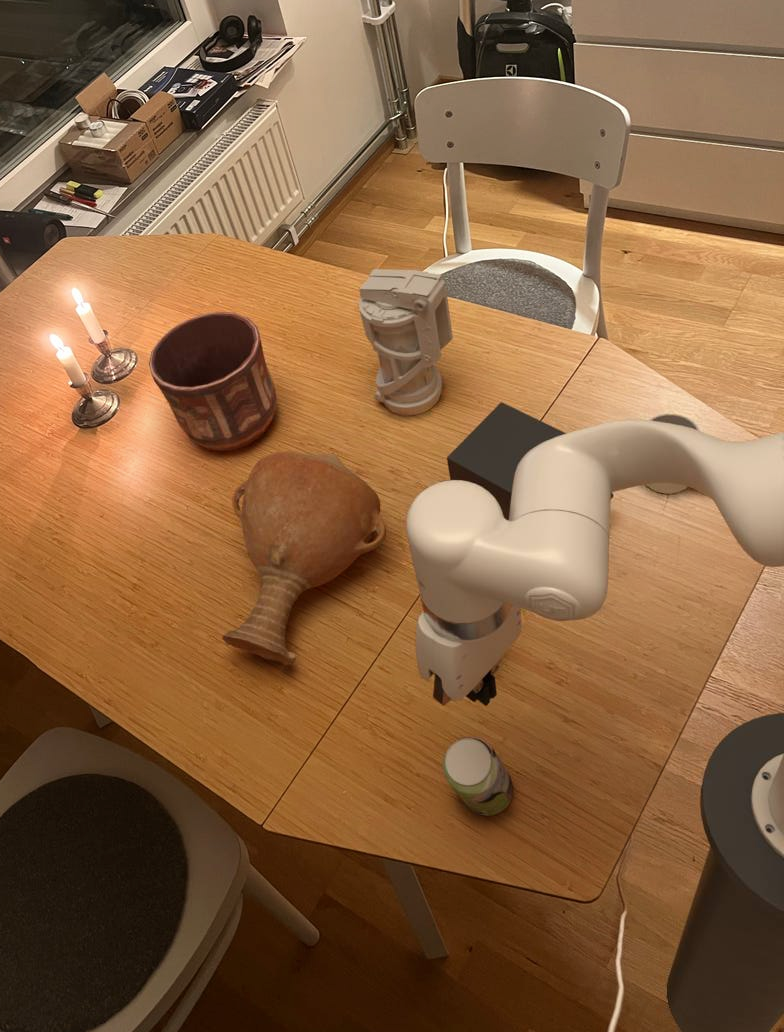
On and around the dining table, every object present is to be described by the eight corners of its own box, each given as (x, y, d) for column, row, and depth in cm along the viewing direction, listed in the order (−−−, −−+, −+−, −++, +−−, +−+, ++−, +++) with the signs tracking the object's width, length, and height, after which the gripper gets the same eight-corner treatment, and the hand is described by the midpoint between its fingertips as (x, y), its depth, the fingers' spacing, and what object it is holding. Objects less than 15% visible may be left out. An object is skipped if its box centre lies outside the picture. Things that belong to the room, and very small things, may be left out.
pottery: (251, 477, 146) (219, 401, 133) (165, 450, 154) (127, 375, 141) (304, 400, 155) (279, 321, 141) (221, 378, 163) (190, 301, 150)
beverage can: (524, 787, 105) (519, 745, 96) (486, 839, 102) (477, 800, 94) (479, 754, 109) (470, 710, 100) (441, 803, 106) (429, 762, 97)
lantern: (369, 408, 150) (340, 292, 132) (398, 365, 155) (374, 248, 137) (440, 428, 144) (420, 309, 126) (468, 383, 149) (453, 262, 131)
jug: (419, 464, 124) (352, 671, 110) (364, 505, 141) (300, 690, 127) (291, 398, 121) (204, 602, 107) (249, 448, 138) (170, 630, 124)
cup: (659, 447, 132) (664, 405, 126) (723, 482, 126) (731, 440, 120) (628, 477, 130) (631, 436, 123) (691, 514, 124) (697, 473, 117)
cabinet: (589, 487, 130) (589, 444, 123) (537, 547, 126) (534, 505, 119) (504, 444, 139) (501, 401, 132) (453, 499, 134) (446, 457, 127)
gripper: (486, 517, 83) (496, 619, 96) (373, 630, 77) (401, 722, 91) (555, 560, 78) (556, 661, 92) (441, 684, 73) (460, 772, 86)
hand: (479, 691), depth 91 cm, fingers closed
